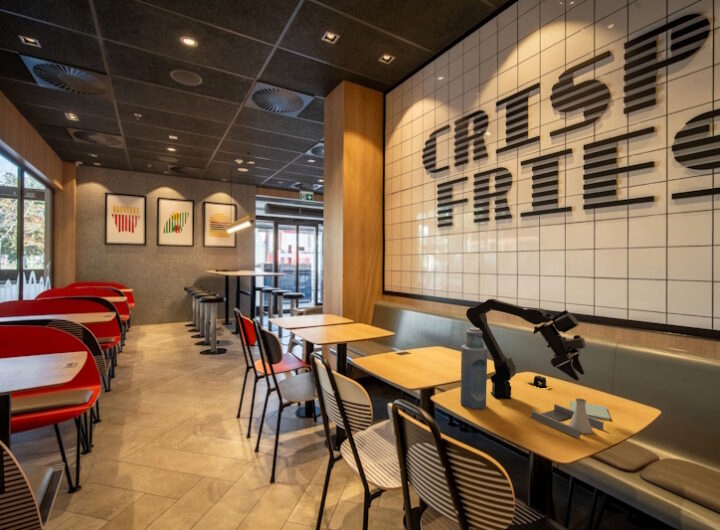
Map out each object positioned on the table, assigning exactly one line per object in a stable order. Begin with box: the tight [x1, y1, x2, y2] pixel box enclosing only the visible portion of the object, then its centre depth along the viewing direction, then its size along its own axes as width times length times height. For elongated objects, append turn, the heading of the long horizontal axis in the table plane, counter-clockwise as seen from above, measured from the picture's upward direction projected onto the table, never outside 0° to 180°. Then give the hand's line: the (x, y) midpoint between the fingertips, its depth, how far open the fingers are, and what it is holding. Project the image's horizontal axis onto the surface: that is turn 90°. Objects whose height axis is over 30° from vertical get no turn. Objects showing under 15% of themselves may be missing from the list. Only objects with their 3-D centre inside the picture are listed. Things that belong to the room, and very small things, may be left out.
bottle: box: [459, 327, 488, 410], centre depth 142 cm, size 10×10×30 cm
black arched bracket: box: [526, 375, 549, 389], centre depth 165 cm, size 12×7×5 cm, turn 27°
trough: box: [530, 403, 604, 440], centre depth 127 cm, size 17×14×2 cm
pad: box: [569, 400, 611, 421], centre depth 138 cm, size 12×12×1 cm
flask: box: [568, 397, 594, 435], centre depth 123 cm, size 7×7×10 cm
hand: (580, 377), depth 133 cm, fingers open, 9 cm apart
